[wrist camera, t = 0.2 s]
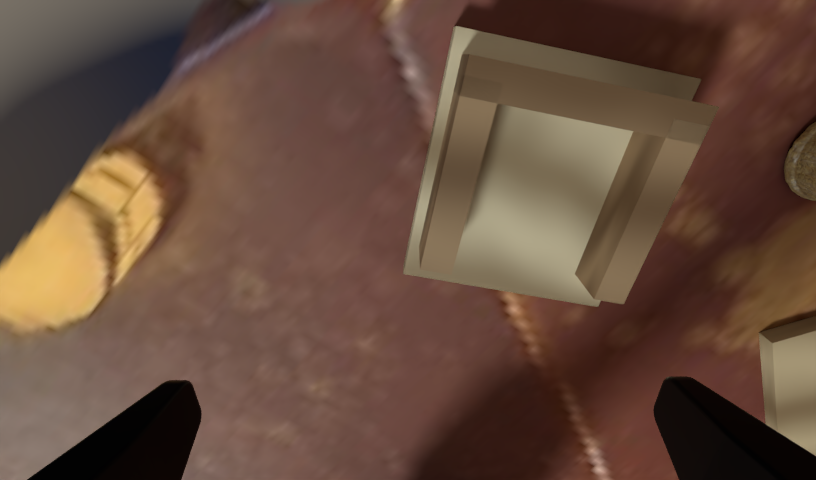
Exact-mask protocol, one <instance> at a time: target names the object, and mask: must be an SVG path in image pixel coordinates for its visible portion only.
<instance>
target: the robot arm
mask: <svg viewBox="0 0 816 480" xmlns="http://www.w3.org/2000/svg"><path fill="white" fill-rule="evenodd" d="M654 417H655V421H656V423H657V426H658V428H659V431H660V433H661V436H662V438H663V441H664V443H665V446H666V448H667V451H668V453H669V455H670V458H671V460H672V463H673V465H674V468H675V470H676V473H677V475H678V478H679V480H816V456H815V455H813V454H812V453H810V452H809V451H807V450H806V449H804V448H802V447H801V446H799V445H798V444H796V443H795V442H793V441H791V440H790V439H788V438H787V437H785V436H783V435H782V434H780V433H779V432H777V431H776V430H774V429H772V428H771V427H769V426H768V425H766V424H764V423H763V422H761V421H760V420H758V419H757V418H755V417H753V416H752V415H750V414H749V413H747V412H746V411H744V410H742V409H741V408H739V407H738V406H736V405H734V404H733V403H731V402H730V401H728V400H727V399H725V398H723V397H722V396H720V395H719V394H717V393H715V392H714V391H712V390H711V389H709V388H708V387H706V386H704V385H703V384H701V383H700V382H698V381H697V380H695V379H693V378H691V377H667V378H666V379H665V380H664V381H663V383H662V386H661V389H660V391H659V394H658V397H657V399H656V402H655V405H654ZM200 422H201V408H200V405H199V402H198V399H197V396H196V393H195V391H194V388H193V385H192V383H191V382H189V381H187V380H170V381H166V382H164V383H162V384H161V385H159V386H158V387H157V388H155V389H154V390H152V391H151V392H150V393H148V394H147V395H145V396H144V397H143V398H141V399H140V400H138V401H137V402H136V403H134V404H133V405H131V406H130V407H129V408H127V409H126V410H124V411H123V412H122V413H120V414H119V415H117V416H116V417H114V418H113V419H112V420H110V421H109V422H107V423H106V424H105V425H103V426H102V427H100V428H99V429H98V430H96V431H95V432H93V433H92V434H91V435H89V436H88V437H86V438H85V439H84V440H82V441H81V442H79V443H78V444H77V445H75V446H74V447H72V448H71V449H69V450H68V451H67V452H65V453H64V454H62V455H61V456H60V457H58V458H57V459H55V460H54V461H53V462H51V463H50V464H48V465H47V466H46V467H44V468H43V469H41V470H40V471H39V472H37V473H36V474H34V475H33V476H32V477H30V478H29V479H27V480H181V479H182V476H183V473H184V470H185V467H186V464H187V461H188V458H189V455H190V452H191V449H192V446H193V443H194V440H195V437H196V434H197V431H198V428H199V425H200Z"/></svg>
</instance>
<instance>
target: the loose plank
mask: <svg viewBox="0 0 816 480" xmlns="http://www.w3.org/2000/svg"><path fill="white" fill-rule="evenodd" d="M759 342H760V355H761V368H762V381H763V394H764V407H765V420H766V425H768V426H769V427H771V428H772V429H774V430H776V431H777V432H779V433H780V434H782V435H783V436H785V437H787V438H788V439H790V440H791V441H793V442H795V443H796V444H798V445H799V446H801V447H802V448H804V449H806V450H807V451H809V452H810V453H812V454H813V455H815V456H816V316H814V317H810V318H807V319H803V320H800V321H796V322H793V323H790V324H786V325H783V326H779V327H776V328H772V329H769V330H766V331H762V332H759Z"/></svg>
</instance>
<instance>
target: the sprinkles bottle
mask: <svg viewBox="0 0 816 480" xmlns="http://www.w3.org/2000/svg"><path fill="white" fill-rule="evenodd" d="M784 173H785V180H786V182H787V183H788V185H789V187H790V189H791V190H792V191H793V192H795V193H796V194H797V195H799V196H800V197H803V198H806V199H809V200H813V201H816V121H815V122H814V123H813V124H812V125H810V126H809V127H808V128H807V129H806V130H805V131H804V132H803V133H802V134H801V135H800V137H799V138H798V139H796V140H795V141H794V143H793V146H792V148H791V149H790V150H789V152H788V155H787V157H786V160H785V165H784Z"/></svg>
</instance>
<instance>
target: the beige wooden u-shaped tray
mask: <svg viewBox="0 0 816 480" xmlns="http://www.w3.org/2000/svg"><path fill="white" fill-rule="evenodd" d="M700 81H701V79H699V78H694V77H690V76H685V75H680V74H676V73H671V72H666V71H662V70H657V69H653V68H648V67H643V66H639V65H634V64H630V63H625V62H620V61H616V60H611V59H606V58H602V57H597V56H593V55H588V54H583V53H579V52H574V51H569V50H565V49H560V48H556V47H551V46H546V45H542V44H537V43H533V42H528V41H523V40H519V39H514V38H509V37H505V36H500V35H496V34H491V33H486V32H482V31H477V30H472V29H468V28H463V27H459V26H455V27H454V28H453V33H452V37H451V42H450V47H449V52H448V56H447V61H446V66H445V71H444V75H443V80H442V85H441V90H440V94H439V99H438V104H437V109H436V113H435V118H434V123H433V128H432V133H431V137H430V142H429V147H428V152H427V156H426V161H425V166H424V171H423V175H422V180H421V185H420V190H419V194H418V199H417V204H416V209H415V213H414V218H413V223H412V228H411V232H410V237H409V242H408V247H407V251H406V256H405V261H404V268H403V274H407V275H413V276H419V277H425V278H431V279H436V280H442V281H448V282H454V283H460V284H466V285H472V286H478V287H484V288H489V289H495V290H501V291H507V292H513V293H519V294H525V295H531V296H537V297H542V298H548V299H554V300H560V301H566V302H572V303H578V304H584V305H589V306H595V307H598V306H599V303H600V301H607V302H613V303H619V304H624V302H625V300H626V298H627V296H628V294H629V292H630V290H631V288H632V286H633V284H634V282H635V280H636V278H637V276H638V273H639V271H640V269H641V267H642V265H643V263H644V261H645V259H646V257H647V255H648V253H649V251H650V249H651V247H652V245H653V242H654V240H655V238H656V236H657V234H658V232H659V230H660V228H661V226H662V224H663V222H664V220H665V218H666V216H667V214H668V211H669V209H670V207H671V205H672V203H673V201H674V199H675V197H676V195H677V193H678V191H679V189H680V187H681V185H682V183H683V181H684V178H685V176H686V174H687V172H688V170H689V168H690V166H691V164H692V162H693V160H694V158H695V156H696V154H697V152H698V150H699V147H700V145H701V143H702V141H703V139H704V137H705V135H706V133H707V131H708V129H709V127H710V125H711V123H712V121H713V119H714V117H715V114H716V112H717V110H718V108H719V107H717V106H712V105H708V104H703V103H698V102H694V101H692V99H693V97H694V95H695V92H696V90H697V88H698V86H699V84H700Z"/></svg>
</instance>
